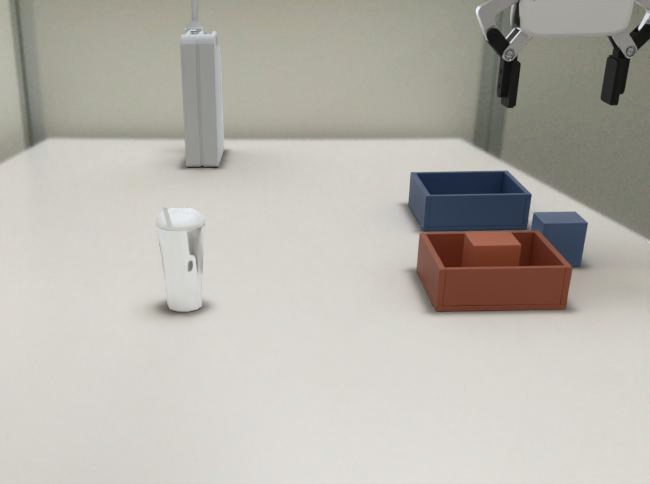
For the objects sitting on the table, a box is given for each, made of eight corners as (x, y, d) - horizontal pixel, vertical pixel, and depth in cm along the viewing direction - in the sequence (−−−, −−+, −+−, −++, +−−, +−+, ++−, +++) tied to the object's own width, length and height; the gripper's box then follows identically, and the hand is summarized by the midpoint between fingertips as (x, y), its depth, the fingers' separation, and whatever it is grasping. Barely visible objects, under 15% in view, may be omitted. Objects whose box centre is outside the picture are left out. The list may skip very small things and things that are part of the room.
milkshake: (149, 314, 91) (141, 205, 86) (173, 296, 96) (167, 191, 90) (192, 319, 90) (187, 209, 85) (215, 301, 94) (212, 195, 89)
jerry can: (194, 146, 156) (186, -33, 143) (225, 146, 156) (220, -34, 142) (184, 167, 144) (174, -27, 130) (217, 167, 143) (211, -28, 130)
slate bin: (503, 203, 124) (507, 170, 121) (527, 229, 113) (532, 194, 111) (408, 204, 124) (410, 172, 122) (423, 231, 113) (425, 196, 111)
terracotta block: (504, 276, 98) (510, 231, 95) (515, 291, 94) (521, 244, 91) (460, 277, 98) (464, 232, 95) (468, 292, 94) (474, 245, 91)
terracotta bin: (533, 268, 101) (538, 230, 99) (565, 309, 91) (572, 267, 89) (416, 270, 101) (419, 232, 99) (435, 311, 91) (439, 269, 89)
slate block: (568, 253, 105) (575, 211, 103) (580, 266, 102) (588, 222, 99) (527, 254, 105) (533, 212, 103) (537, 267, 102) (544, 223, 99)
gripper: (673, -113, 86) (635, 96, 95) (479, -108, 86) (459, 100, 95) (708, -115, 80) (663, 109, 89) (498, -110, 80) (476, 113, 89)
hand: (558, 104), depth 92 cm, fingers open, 9 cm apart
